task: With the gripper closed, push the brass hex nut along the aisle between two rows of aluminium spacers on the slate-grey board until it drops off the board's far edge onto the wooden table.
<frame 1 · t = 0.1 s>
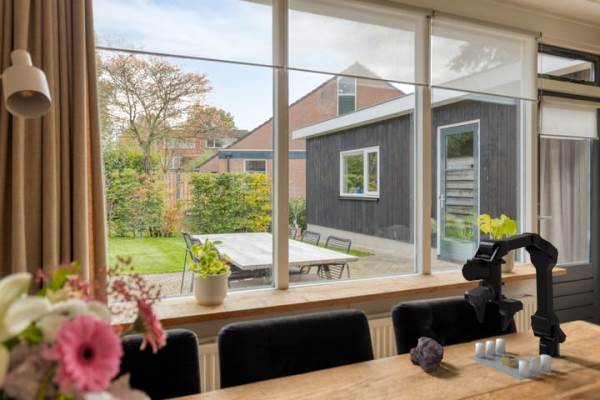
hand: (492, 326, 137), 15 cm above the table, fingers open, 9 cm apart
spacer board: (509, 366, 140), on the table
rock: (428, 367, 141), on the table
nut: (509, 364, 140), point 1 cm above the table, touching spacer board
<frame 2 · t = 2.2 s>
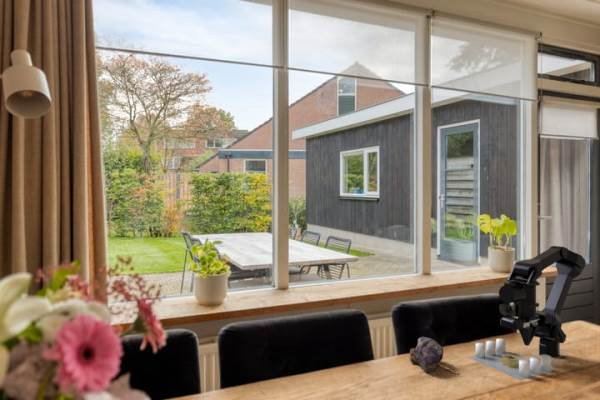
hand: (526, 345, 143), 6 cm above the table, fingers closed
nothing on the table moved.
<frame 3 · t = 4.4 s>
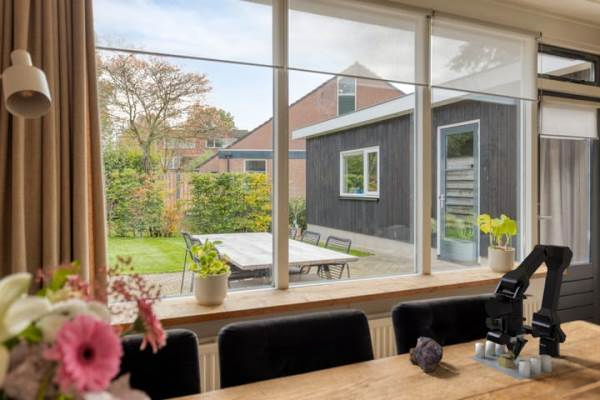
hand: (513, 360, 140), 2 cm above the table, fingers closed
nut: (506, 365, 139), point 1 cm above the table, touching gripper
everything else where it was.
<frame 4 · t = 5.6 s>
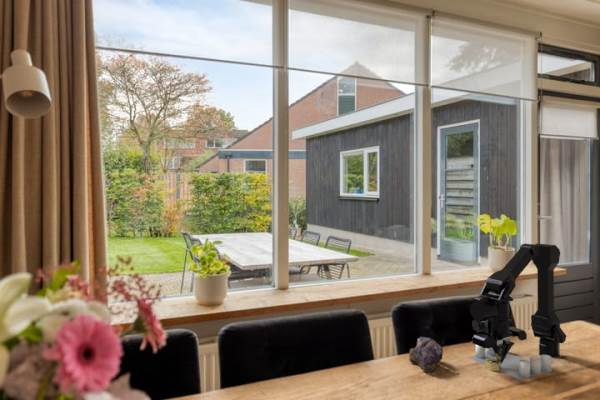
hand: (499, 363, 138), 2 cm above the table, fingers closed
nut: (492, 368, 137), point 1 cm above the table, touching gripper, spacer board
everything else where it was.
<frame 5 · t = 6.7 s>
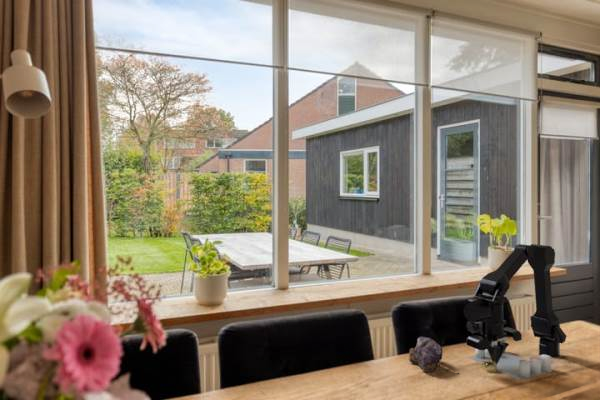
hand: (494, 364, 137), 2 cm above the table, fingers closed
nut: (489, 370, 136), point 1 cm above the table, tilted 16°, touching gripper, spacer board
everything else where it was.
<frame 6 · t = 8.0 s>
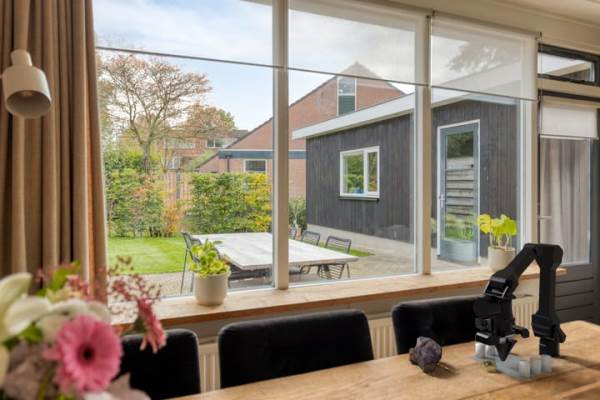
hand: (502, 361, 138), 3 cm above the table, fingers closed
nut: (489, 370, 136), point 1 cm above the table, tilted 15°, touching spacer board
everything else where it was.
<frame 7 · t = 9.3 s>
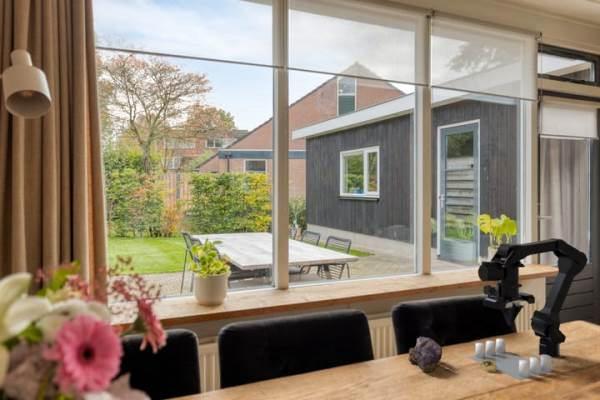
hand: (509, 325, 146), 12 cm above the table, fingers closed
nothing on the table moved.
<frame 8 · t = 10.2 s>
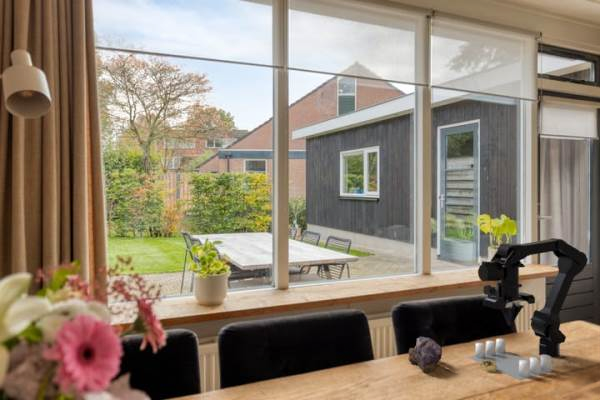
hand: (509, 325, 146), 12 cm above the table, fingers closed
nothing on the table moved.
at the end: nut inside the target area (4.4 cm from its centre), point 0.6 cm above the table; nut moved 9.1 cm from its start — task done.
